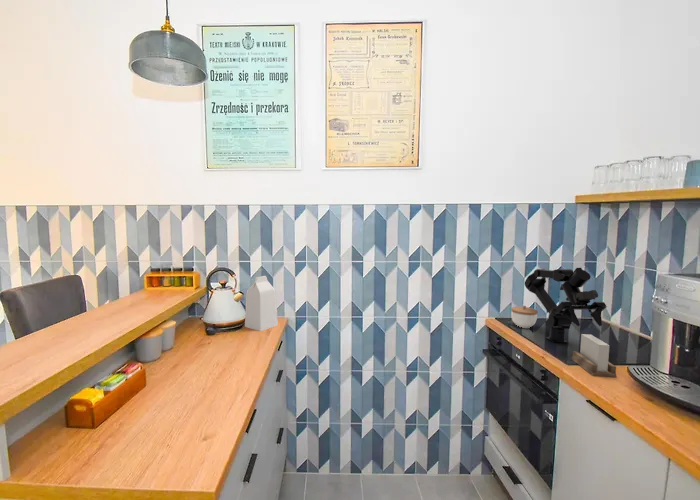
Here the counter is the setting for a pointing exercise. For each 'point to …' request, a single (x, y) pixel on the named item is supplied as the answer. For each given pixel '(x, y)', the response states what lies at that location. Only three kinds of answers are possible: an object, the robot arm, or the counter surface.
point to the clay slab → (595, 351)
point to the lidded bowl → (524, 316)
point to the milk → (261, 305)
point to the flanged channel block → (593, 366)
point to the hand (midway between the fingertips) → (589, 325)
